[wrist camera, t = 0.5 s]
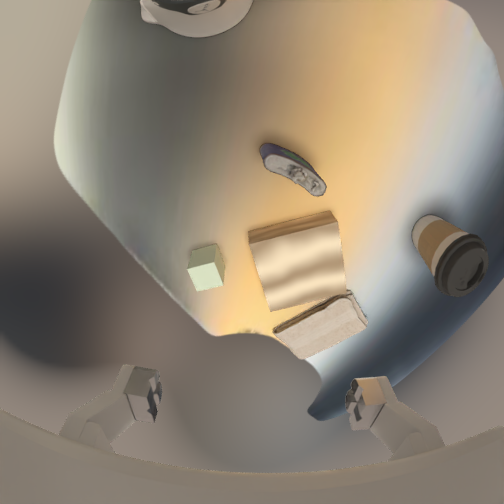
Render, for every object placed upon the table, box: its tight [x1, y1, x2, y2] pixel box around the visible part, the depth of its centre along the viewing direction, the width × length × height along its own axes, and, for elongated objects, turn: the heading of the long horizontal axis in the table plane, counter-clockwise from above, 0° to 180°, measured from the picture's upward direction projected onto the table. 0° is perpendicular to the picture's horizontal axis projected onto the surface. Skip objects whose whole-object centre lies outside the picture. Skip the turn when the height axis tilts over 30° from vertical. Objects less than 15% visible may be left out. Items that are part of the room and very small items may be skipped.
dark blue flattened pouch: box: [260, 143, 326, 196], centre depth 39 cm, size 9×3×11 cm, turn 61°
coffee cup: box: [412, 215, 488, 297], centre depth 44 cm, size 11×11×15 cm
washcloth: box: [273, 291, 368, 359], centre depth 60 cm, size 12×18×3 cm, turn 125°
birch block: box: [249, 211, 347, 312], centre depth 51 cm, size 14×14×5 cm
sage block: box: [187, 244, 225, 291], centre depth 50 cm, size 4×4×6 cm
